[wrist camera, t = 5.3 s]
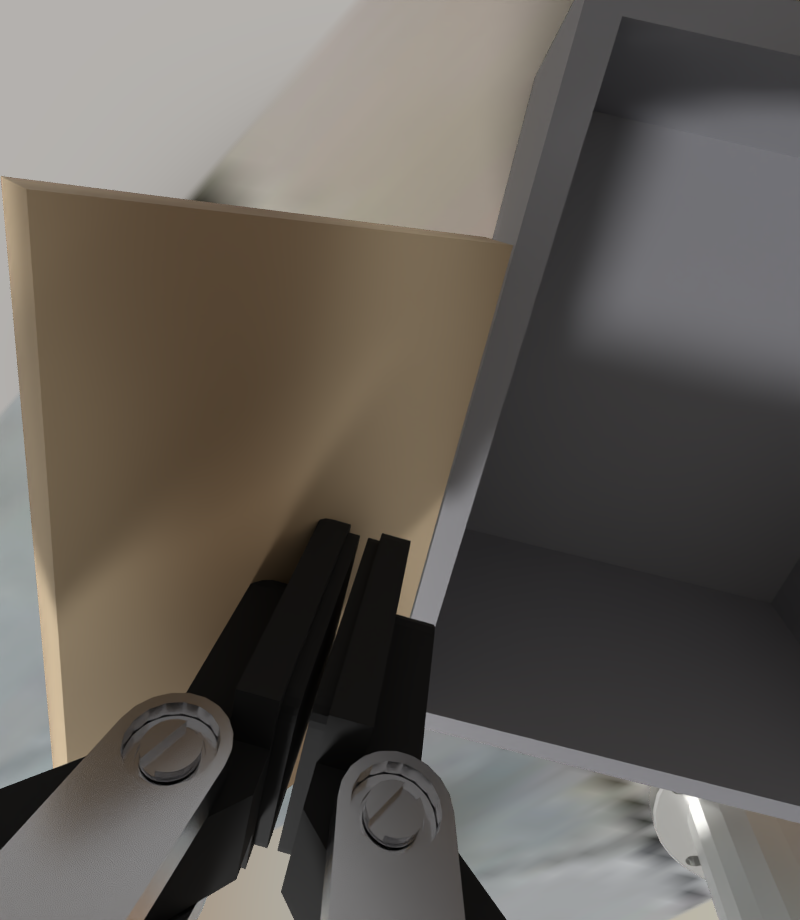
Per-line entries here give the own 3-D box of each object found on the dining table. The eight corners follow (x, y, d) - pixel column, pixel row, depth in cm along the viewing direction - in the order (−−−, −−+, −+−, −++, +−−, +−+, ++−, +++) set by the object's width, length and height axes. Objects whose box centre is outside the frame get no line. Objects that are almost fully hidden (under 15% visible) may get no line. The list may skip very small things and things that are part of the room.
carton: (1036, 190, 17) (1661, 193, 8) (771, 608, 24) (947, 860, 15) (535, 76, 17) (597, -44, 8) (418, 521, 24) (383, 718, 15)
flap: (26, 188, 5) (1, 175, 5) (80, 945, 10) (66, 915, 10) (513, 245, 10) (485, 237, 10) (381, 717, 15) (366, 702, 16)
